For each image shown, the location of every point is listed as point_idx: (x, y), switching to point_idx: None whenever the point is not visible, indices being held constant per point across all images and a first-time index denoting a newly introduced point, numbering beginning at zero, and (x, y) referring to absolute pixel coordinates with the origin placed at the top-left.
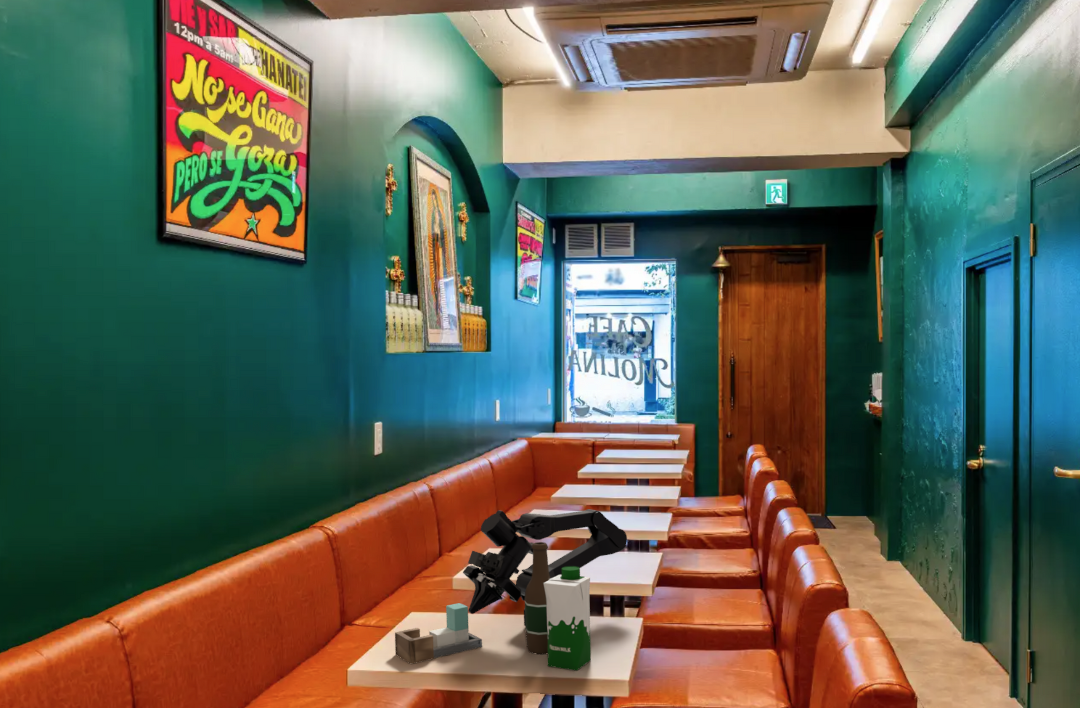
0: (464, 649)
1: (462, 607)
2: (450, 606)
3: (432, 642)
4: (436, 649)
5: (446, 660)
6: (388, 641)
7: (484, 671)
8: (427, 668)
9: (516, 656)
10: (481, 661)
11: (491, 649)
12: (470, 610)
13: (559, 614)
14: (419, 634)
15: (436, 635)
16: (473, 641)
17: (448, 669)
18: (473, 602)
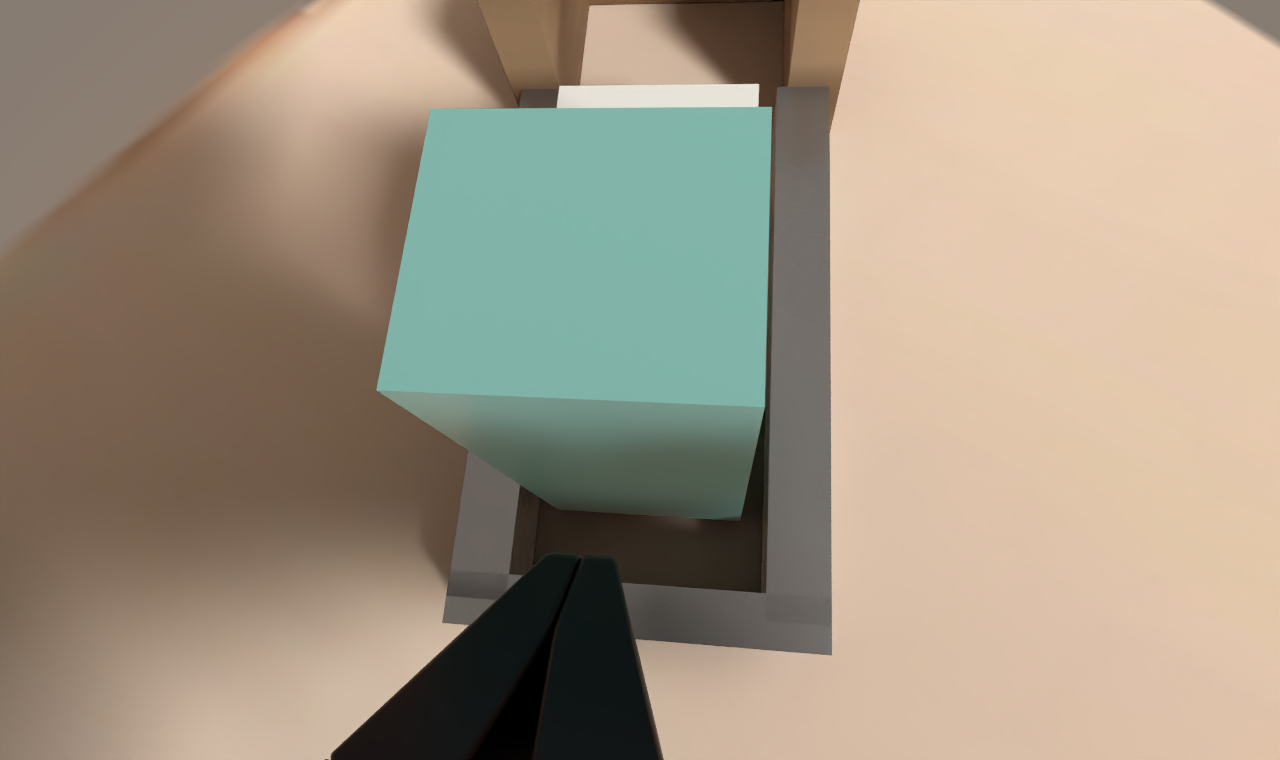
0: None
1: (417, 279)
2: (656, 140)
3: (492, 27)
4: None
5: None
6: (1234, 38)
7: (11, 287)
8: (390, 24)
9: (7, 714)
10: (181, 388)
11: (344, 652)
12: (542, 562)
13: None
14: (796, 18)
15: (581, 91)
16: (462, 509)
17: (257, 119)
18: (546, 687)
